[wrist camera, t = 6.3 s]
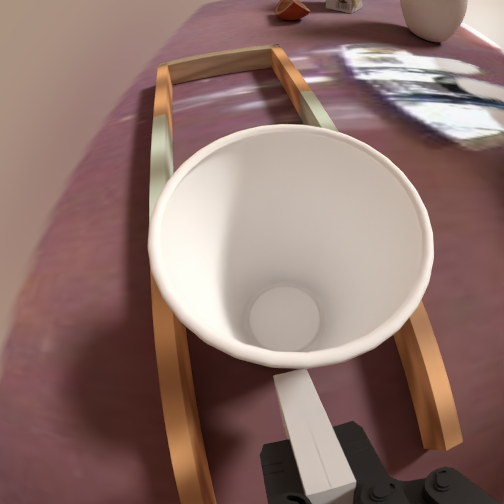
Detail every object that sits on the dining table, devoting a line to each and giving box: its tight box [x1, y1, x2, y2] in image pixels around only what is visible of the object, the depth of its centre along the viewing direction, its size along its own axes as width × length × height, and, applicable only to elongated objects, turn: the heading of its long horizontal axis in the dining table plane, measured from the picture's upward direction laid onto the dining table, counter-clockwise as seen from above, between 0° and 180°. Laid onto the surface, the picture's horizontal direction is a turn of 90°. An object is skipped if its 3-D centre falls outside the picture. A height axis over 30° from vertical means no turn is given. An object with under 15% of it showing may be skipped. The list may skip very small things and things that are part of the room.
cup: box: [148, 124, 434, 369], centre depth 15 cm, size 10×10×11 cm
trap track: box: [149, 44, 463, 504], centre depth 24 cm, size 44×15×3 cm, turn 11°
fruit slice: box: [275, 0, 310, 20], centre depth 46 cm, size 8×7×5 cm
